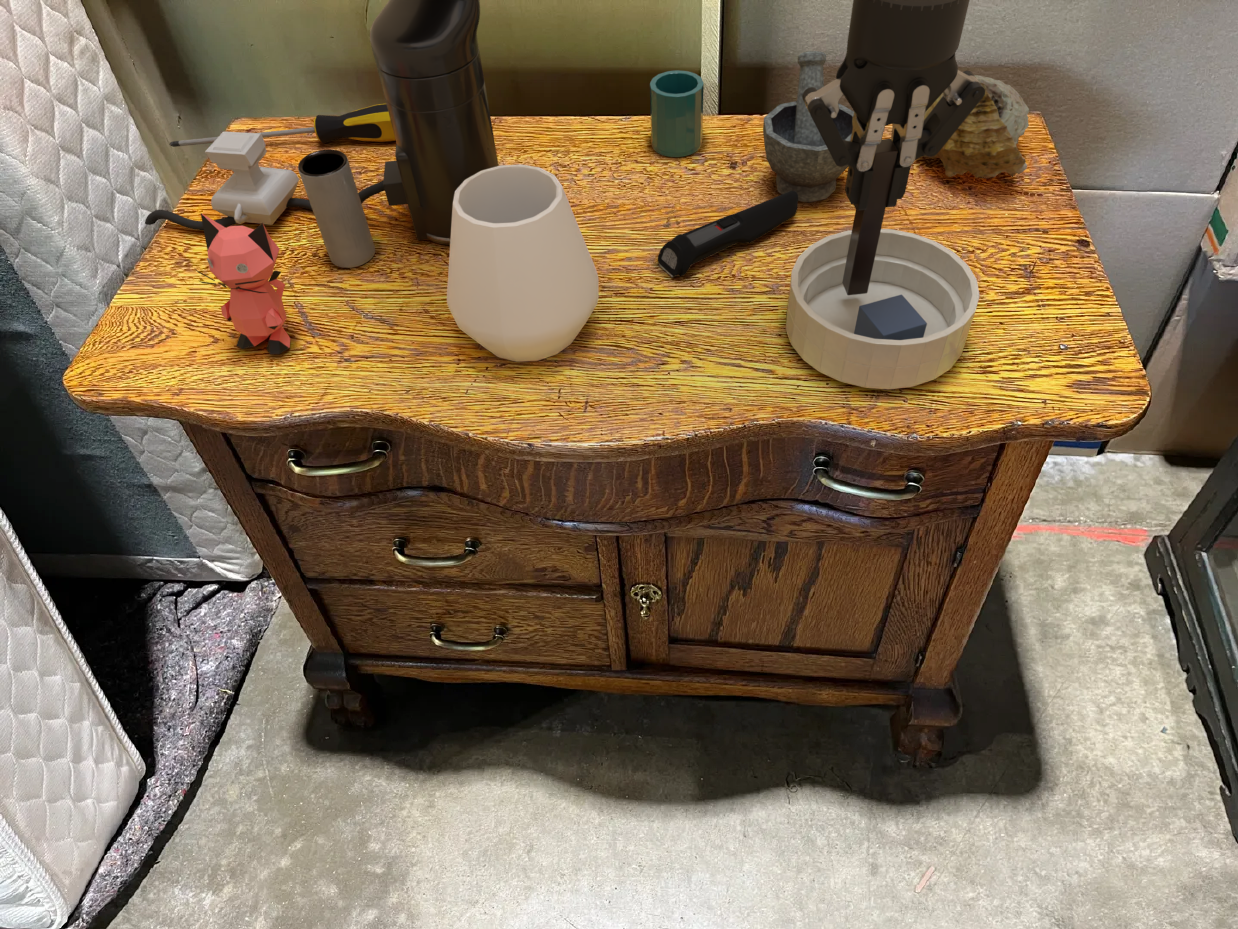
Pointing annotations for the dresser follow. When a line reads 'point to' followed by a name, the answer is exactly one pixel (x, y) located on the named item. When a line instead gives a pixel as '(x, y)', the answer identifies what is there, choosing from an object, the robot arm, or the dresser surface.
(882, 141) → the stick
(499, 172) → the cup
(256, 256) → the cat figurine
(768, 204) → the electric trimmer
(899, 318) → the block
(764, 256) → the dresser surface
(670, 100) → the cup
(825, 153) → the mortar and pestle
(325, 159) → the grey hollow cylinder
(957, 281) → the bowl
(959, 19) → the robot arm
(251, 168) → the stamp
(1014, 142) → the seashell
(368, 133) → the screwdriver
